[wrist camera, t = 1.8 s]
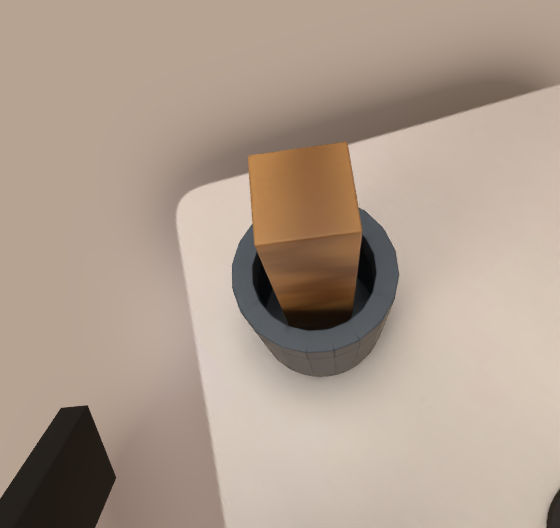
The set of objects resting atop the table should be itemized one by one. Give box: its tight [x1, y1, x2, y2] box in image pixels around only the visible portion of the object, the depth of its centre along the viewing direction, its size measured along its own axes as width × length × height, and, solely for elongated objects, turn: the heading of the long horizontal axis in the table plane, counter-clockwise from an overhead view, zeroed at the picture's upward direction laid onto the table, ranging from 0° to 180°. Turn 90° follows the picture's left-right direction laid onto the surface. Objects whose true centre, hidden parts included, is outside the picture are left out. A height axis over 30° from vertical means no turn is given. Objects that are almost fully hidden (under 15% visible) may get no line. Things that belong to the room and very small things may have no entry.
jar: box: [232, 208, 399, 377], centre depth 30 cm, size 9×9×10 cm
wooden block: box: [248, 142, 362, 331], centre depth 26 cm, size 4×4×18 cm
